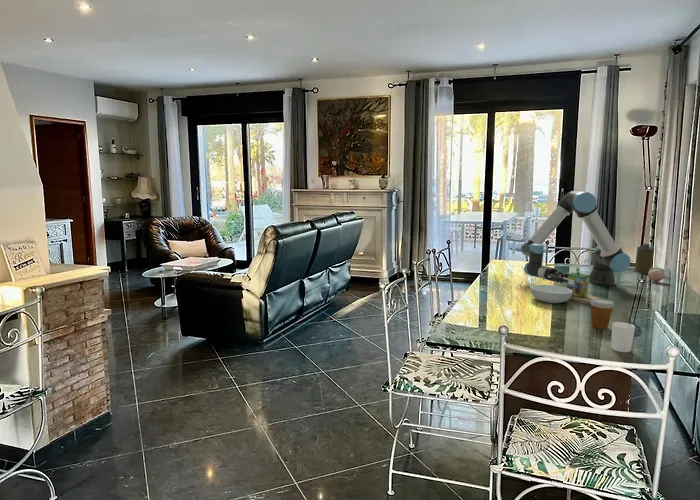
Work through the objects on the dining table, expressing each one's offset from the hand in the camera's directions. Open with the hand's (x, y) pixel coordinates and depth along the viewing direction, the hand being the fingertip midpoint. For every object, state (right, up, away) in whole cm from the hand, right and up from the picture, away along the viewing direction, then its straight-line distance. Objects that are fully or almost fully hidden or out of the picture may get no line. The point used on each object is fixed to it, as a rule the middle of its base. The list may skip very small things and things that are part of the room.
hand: (581, 281), depth 274 cm
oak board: (0, -9, +2) cm, 10 cm away
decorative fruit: (+70, -4, +49) cm, 85 cm away
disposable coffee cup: (-13, -18, -47) cm, 52 cm away
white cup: (-19, -22, -75) cm, 80 cm away
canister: (+80, +1, +80) cm, 113 cm away
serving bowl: (-19, -10, -5) cm, 22 cm away
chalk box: (-1, -8, +3) cm, 8 cm away
